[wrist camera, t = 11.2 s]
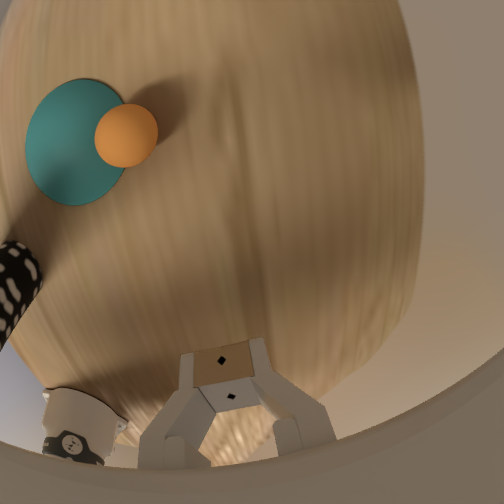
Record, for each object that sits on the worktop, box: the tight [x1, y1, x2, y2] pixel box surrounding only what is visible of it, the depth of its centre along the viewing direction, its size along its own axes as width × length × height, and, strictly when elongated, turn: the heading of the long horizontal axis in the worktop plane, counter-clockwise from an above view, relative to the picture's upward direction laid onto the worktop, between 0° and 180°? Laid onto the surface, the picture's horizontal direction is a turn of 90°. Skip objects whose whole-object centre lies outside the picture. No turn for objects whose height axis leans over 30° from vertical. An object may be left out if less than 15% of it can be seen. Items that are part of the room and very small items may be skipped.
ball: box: [95, 104, 158, 168], centre depth 20 cm, size 6×6×6 cm
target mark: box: [25, 80, 124, 205], centre depth 21 cm, size 13×13×1 cm
